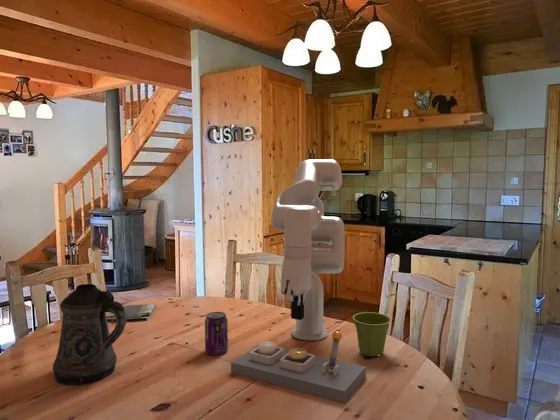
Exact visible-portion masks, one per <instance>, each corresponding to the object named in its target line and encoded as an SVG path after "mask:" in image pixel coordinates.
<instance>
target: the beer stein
mask: <svg viewBox="0 0 560 420" xmlns="http://www.w3.org/2000/svg"><path fill="white" fill-rule="evenodd" d="M123 306H124V305H122V304H121V302H119V301H116V300H115V297H114V294H113V293H112V292H110V291H107V290H106V291H105V290H101V289H99V288H98V287H97V285H96V284H93V283H86V284H85V283H83V284H79V285H76V287H75V290H74V291H72V292H70V294H68V295H67V296H66V297H65V298H63V300H62V301H61V302H60V304H59V308H60V311H61V312H62V322H61V329H60V330H61V331H60V336H59V338H60V339H59V344H58V349H57V354H56V356H55V359H54V360H53V361H54V362H53V364H52V370H53V373H54V378H55V380H56V382H57V383H59V384H62V385H65V386H82V385H88V384H89V385H90V384H94V383H95V382H99V381H102V380H104V379H105V378H108V377H109V376H111V375H112V374H113V373H114V372H115V370H116V365H117V359H118V358H117V354H116V352H115V349H114V348H113V344H114V343H116V341H117V340H118V339H119V337H121V335H122V334H123V332H124V330H125V327H126V324H127V322H126V319H127V317H126V312H125V310H124V307H123ZM110 312H111V313H113V314H114V315H115V317H116V320H117V322H116V324H115V326H114V329H113V330H112V332H111V333H110V330H109V322H107V317H106V316H107V313H110Z"/></svg>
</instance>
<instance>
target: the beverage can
mask: <svg viewBox="0 0 560 420" xmlns="http://www.w3.org/2000/svg"><path fill="white" fill-rule="evenodd" d="M205 316H206V317H205V319H204V345H205V346H204V351H205V352H206V353H208V354H209V355H213V356H216V355H222V354H224V353H225V352H227V351H228V349H229V343H228V342H229V339H228V337H229V335H228V334H229V332H228V329H229V327H228V325H229V324H228V323H229V322H228V317H227V313H226V312H224V311H212V312H208V313H206V315H205Z"/></svg>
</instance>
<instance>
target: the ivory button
mask: <svg viewBox="0 0 560 420" xmlns="http://www.w3.org/2000/svg"><path fill="white" fill-rule="evenodd" d="M257 346H258V352H259V353H260V354H264V355H270V354H273V353H275V352H276V347H277V344H276V343H275V342H273V341H268V340H267V341H266V340H265V341H261V342H259V343H258V345H257Z"/></svg>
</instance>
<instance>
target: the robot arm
mask: <svg viewBox="0 0 560 420" xmlns="http://www.w3.org/2000/svg"><path fill="white" fill-rule="evenodd" d="M342 185H343V175H342V170H341V166H340V164H339V163H338V161H337V160H335V159H332V158H331V159H330V158H329V159H328V158H326V159H320V158H319V159H305V160H302V161H301V162H299V164H298V165H297V167H296V170H295V171H294V174H293V184H291V185H290V186H287V188H285V189H283V190H281V192H279V193H278V195H277V196H276V197H275V199H274V204H273V208H272V211H271V224H272V226H273V228H274V229H275V230H277V231H281V232H283V260H282V266H281V267H282V268H281V276H280V277H281V280H280V293H281V295H286V296H285V297H286V298H285V301H288V302H289V305H290V317H291V319H293V320H295V327H294V328H292V329H291V336H292V337H293V338H295V339H297V340H302V341H309V342H310V341H311V342H312V341H320V340H324V339H325V338H327V337H328V334H329V333H328V330H327V329H326V328H325V327H324V323H326V322H327V319H326V318H325V316H324V284H323V282H322V280H321V279H320V277H319V275H318V274H340V273H341V272H342V271H343V270H344V267H345V245H346V244H345V241H346V240H345V239H346V237H345V233H346V232H345V224H344V221H343V220H342V218H340V217H338V216H325V205H324V202H323V201H322V199H321V198H320V197H319V195H320V191H321V192H322V191H323V192H324V191H325V192H326V191H327V192H328V191H330V192H332V191H338V190H339V189H341V187H342ZM322 244H323V245H322ZM324 244H327V245H324ZM328 244H329V245H328Z"/></svg>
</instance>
